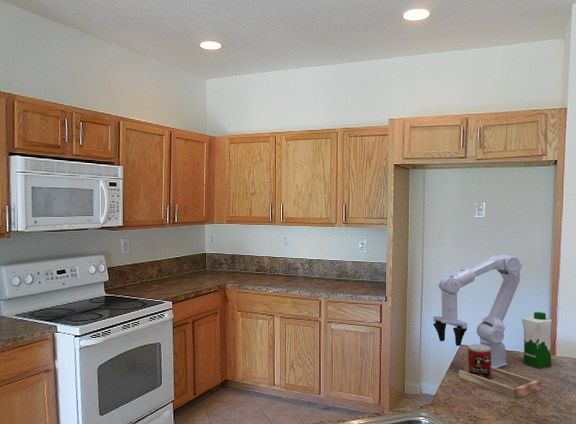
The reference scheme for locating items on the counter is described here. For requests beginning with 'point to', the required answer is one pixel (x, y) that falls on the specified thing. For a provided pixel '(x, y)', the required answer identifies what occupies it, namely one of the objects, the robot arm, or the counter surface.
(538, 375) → the counter surface
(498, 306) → the robot arm
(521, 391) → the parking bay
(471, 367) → the canned food
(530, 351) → the milk carton
